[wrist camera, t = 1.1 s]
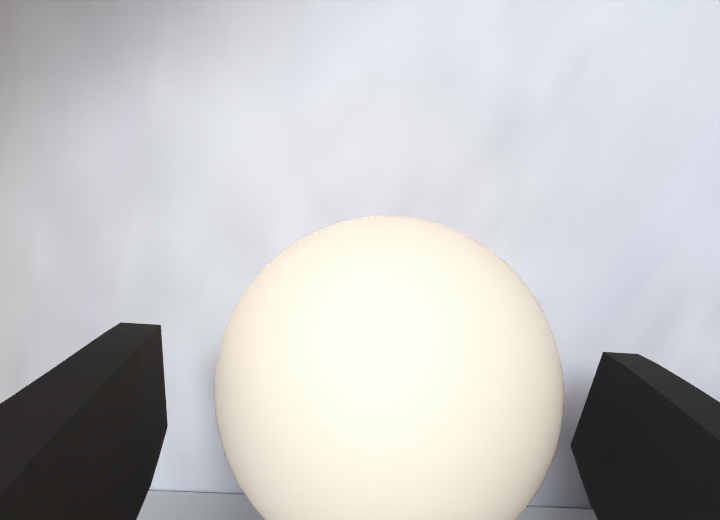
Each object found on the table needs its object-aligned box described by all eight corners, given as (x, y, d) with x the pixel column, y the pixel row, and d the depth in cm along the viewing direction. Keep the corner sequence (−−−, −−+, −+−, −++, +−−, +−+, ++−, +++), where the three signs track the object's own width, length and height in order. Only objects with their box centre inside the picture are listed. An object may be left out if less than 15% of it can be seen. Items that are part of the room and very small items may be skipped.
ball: (533, 185, 11) (706, 352, 6) (478, 408, 13) (566, 664, 8) (245, 159, 10) (155, 316, 5) (243, 395, 13) (180, 657, 8)
